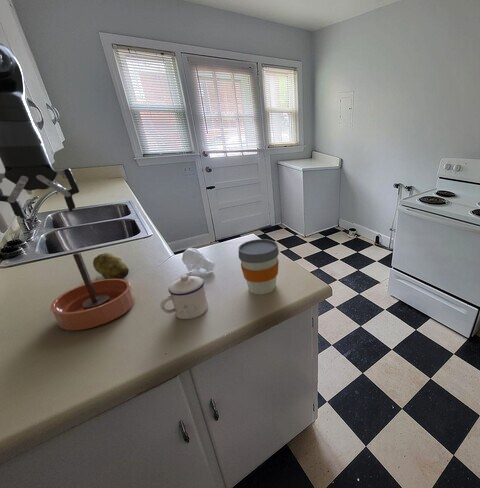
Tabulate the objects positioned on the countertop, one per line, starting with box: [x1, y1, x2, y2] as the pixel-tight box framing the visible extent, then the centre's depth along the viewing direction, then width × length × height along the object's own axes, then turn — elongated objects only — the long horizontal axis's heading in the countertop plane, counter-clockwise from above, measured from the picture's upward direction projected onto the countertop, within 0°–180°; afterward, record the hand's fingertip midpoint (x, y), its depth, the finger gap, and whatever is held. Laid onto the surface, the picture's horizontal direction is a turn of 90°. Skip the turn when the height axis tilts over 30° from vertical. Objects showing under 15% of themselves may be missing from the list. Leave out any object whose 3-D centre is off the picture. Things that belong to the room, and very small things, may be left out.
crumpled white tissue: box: [181, 247, 216, 273], centre depth 100 cm, size 6×8×12 cm
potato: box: [92, 252, 130, 279], centre depth 96 cm, size 8×13×8 cm, turn 48°
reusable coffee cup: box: [238, 238, 280, 295], centre depth 88 cm, size 13×12×15 cm
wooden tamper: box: [72, 252, 110, 310], centre depth 75 cm, size 6×6×18 cm
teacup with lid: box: [160, 274, 209, 320], centre depth 76 cm, size 12×9×12 cm
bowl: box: [49, 278, 136, 331], centre depth 78 cm, size 18×18×6 cm
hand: (48, 214), depth 66 cm, fingers open, 8 cm apart
